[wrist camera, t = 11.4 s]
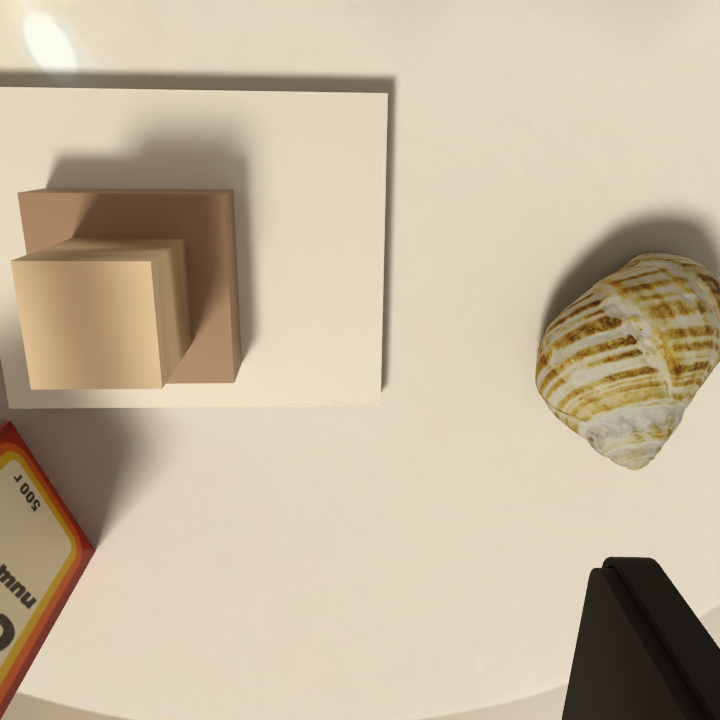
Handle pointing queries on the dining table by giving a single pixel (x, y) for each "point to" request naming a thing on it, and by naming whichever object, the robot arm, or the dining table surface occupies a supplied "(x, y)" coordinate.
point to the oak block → (104, 312)
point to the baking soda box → (31, 559)
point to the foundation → (213, 231)
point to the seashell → (632, 355)
